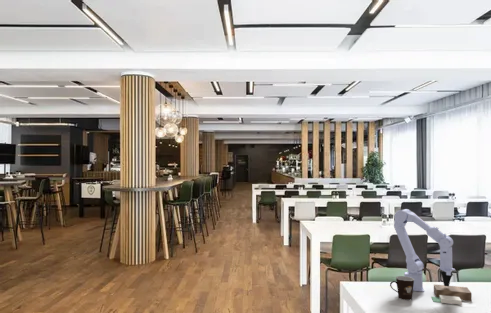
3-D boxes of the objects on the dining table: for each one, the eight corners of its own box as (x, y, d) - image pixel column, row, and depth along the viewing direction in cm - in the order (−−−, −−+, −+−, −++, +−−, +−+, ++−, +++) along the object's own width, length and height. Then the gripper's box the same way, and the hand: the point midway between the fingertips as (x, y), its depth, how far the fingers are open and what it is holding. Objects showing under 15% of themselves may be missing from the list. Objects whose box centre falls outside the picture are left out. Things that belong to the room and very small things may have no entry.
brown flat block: (436, 297, 200) (436, 289, 200) (433, 291, 210) (433, 284, 210) (471, 301, 195) (471, 292, 195) (467, 295, 205) (467, 287, 205)
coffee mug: (413, 296, 202) (413, 277, 202) (415, 301, 194) (414, 281, 194) (389, 294, 206) (389, 275, 206) (390, 299, 197) (390, 279, 198)
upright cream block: (439, 294, 197) (439, 298, 197) (441, 298, 192) (441, 302, 192) (459, 296, 194) (459, 300, 194) (461, 300, 189) (461, 304, 189)
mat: (433, 301, 194) (433, 301, 194) (431, 297, 201) (431, 296, 201) (458, 304, 190) (458, 303, 190) (455, 299, 197) (455, 298, 197)
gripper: (457, 263, 196) (457, 290, 195) (452, 257, 210) (452, 282, 209) (441, 262, 198) (442, 289, 198) (437, 256, 212) (437, 281, 211)
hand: (446, 285), depth 204 cm, fingers closed
